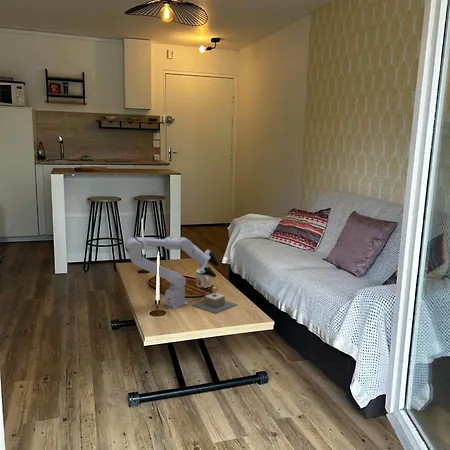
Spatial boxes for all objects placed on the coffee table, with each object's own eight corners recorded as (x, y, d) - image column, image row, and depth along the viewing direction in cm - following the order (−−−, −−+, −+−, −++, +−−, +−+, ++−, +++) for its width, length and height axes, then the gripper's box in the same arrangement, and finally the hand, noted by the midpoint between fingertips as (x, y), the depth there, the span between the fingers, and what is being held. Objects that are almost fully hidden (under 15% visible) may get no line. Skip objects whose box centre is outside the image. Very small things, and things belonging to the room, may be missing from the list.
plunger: (214, 300, 220) (215, 289, 219) (207, 298, 224) (207, 286, 223) (221, 298, 224) (221, 286, 223) (214, 295, 227) (214, 284, 226)
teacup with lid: (193, 285, 256) (193, 265, 254) (209, 283, 259) (209, 263, 257) (199, 291, 245) (199, 270, 243) (215, 290, 248) (215, 269, 246)
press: (215, 313, 213) (215, 303, 213) (191, 305, 224) (191, 296, 223) (237, 305, 225) (237, 295, 224) (213, 297, 236) (213, 288, 235)
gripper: (200, 262, 218) (219, 278, 224) (206, 241, 229) (224, 257, 234) (190, 268, 222) (209, 283, 228) (196, 247, 233) (214, 262, 238)
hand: (216, 270), depth 231 cm, fingers open, 7 cm apart
